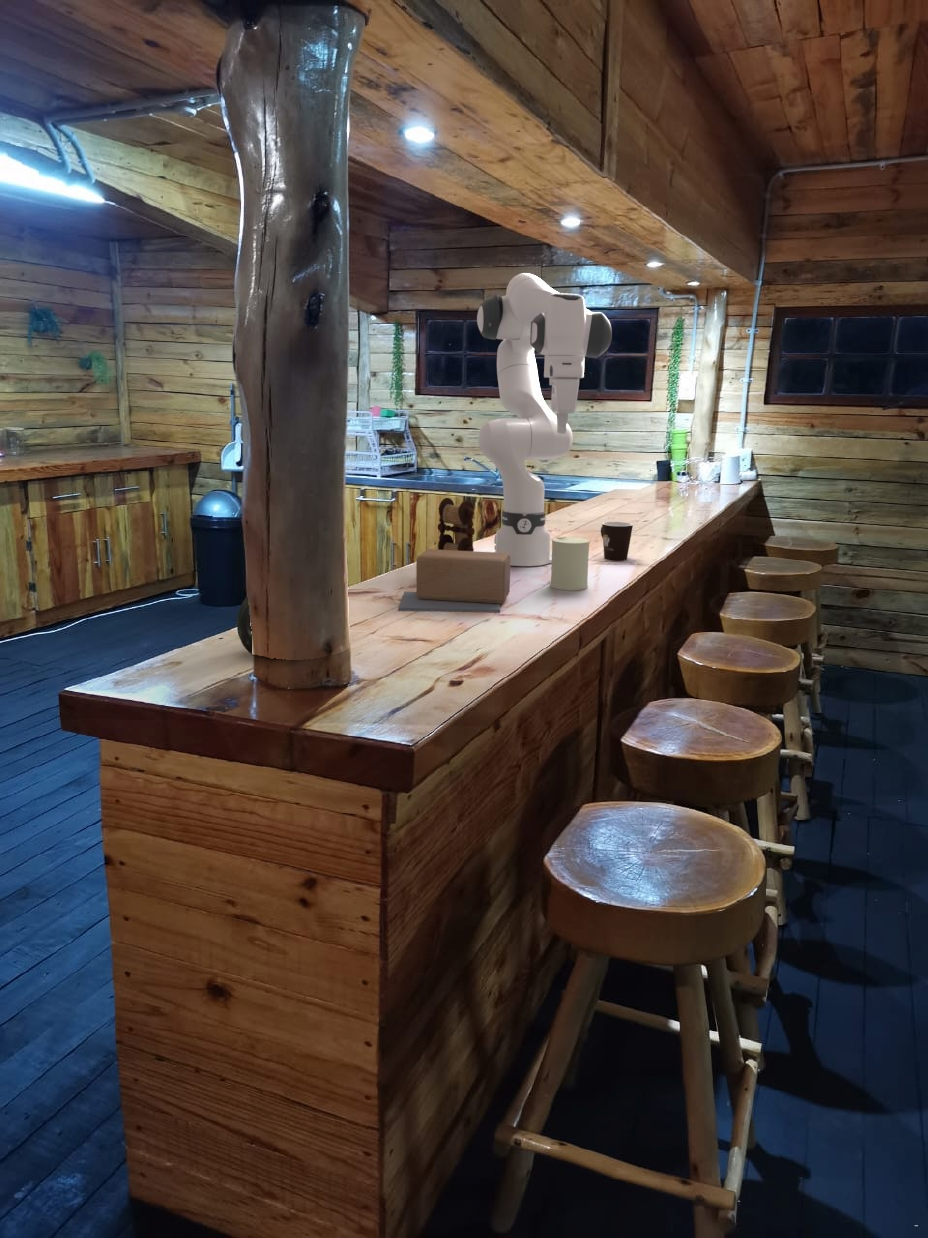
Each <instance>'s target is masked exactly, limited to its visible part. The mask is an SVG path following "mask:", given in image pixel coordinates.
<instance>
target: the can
mask: <svg viewBox="0 0 928 1238" xmlns="http://www.w3.org/2000/svg"><path fill="white" fill-rule="evenodd" d="M590 543H591V541H590V539H588V538H585V537H584V538H583V537H579V536H577V537H576V536H575V537H574V536H560V537H553V538H552V539H551V556H552V563H551V564H550V565H551V567H550V568H551V572H550V584H549V587H551V588H552V589H555V590H559V591H583V590H587V589H588V587H589V586H588V576H589V575H588V574H589V569H588V568H589V555H590V553H589V552H590Z"/></svg>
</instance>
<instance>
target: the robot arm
mask: <svg viewBox="0 0 928 1238" xmlns="http://www.w3.org/2000/svg"><path fill="white" fill-rule="evenodd" d="M505 291H506V292H505V295H502V296H501V295H498V294H497V293H495V294H494V295H493V296H492V297H490V298H487V299H485V300H484V301H482V303H480V305H479V308H478V311H477V314H476V324H477V327H478V330H479V333H480V334H481V336H482V337H483V338H484V339H489V340H496V339H497V340H502V341H501V342H500V344H499V345H498V348H497V351H496V352H497V355H496V375H497V382H498V391H499V400H500V403H501V405H502V407H503V408H504V409H505V410H506V411H508V412H510V413H511V414H513V415H515V416H516V417H518V418H516V417H515V418H514V417H510V418H509V417H507V418H505V417H504V418H503V417H501V418H497V419H491V420H488V421H485V422H484V424H483V425H482V426H481V428H480V429H479V432H478V438H477V440H478V442H477V443H478V446H479V449H480V451H481V452H482V454H483V456H485V457H486V458H487V459H488V460H490V462H491V463H492V464H493V465H494V466H495V468H496V469H497V471H498V472H499V475H500V477H501V482H502V490H503V510H502V511H501V524H502V525H501V527H500V528H499V529H498V530H497V531H496V532H495V533H496V534H495V535H494V540H493V543H494V544H495V545H494V552H496V553H507V554H509V555H510V566H512V567H513V566H514V567H515V566H516V567H536V566H544V565H547V564H552V554H551V533H550V531H549V530H548V529H547V528H546V527H545V525H546V519H547V518H546V517H547V516H546V511H545V489H546V488H545V483H544V481H543V479H542V478H541V477H539V476H537V475H536V474H534V473H532V472H530V471H528V470H527V468H526V466H525V461H539V460H541V461H550V460H556V459H560V458H564V457H565V456H567V455H568V453H569V452H570V451H571V449H572V446H573V442H574V435H573V430H572V428H571V427H570V425H569V424H568V418H569V414H570V415H572V414H575V411H576V406H577V402H578V394H579V386H580V379H583V378H585V374H584V373H585V360H586V359H585V357H586V358H594V359H597V358H600V357H601V355H603V354H604V353H605V352H606V351H607V350H608V349H609V347H610V346H611V343H612V337H613V329H612V324H611V322H610V320H609V319H608V318H607V316H606V315H605V313H603V312H601V311H598V312H597V311H596V312H595V311H591V310H590V309H587V308H586V303H585V298H584V296H582V295H580V294H577V293H570V292H559V291H557V290H555V289H553V288H552V287H550V285H548V284H547V283H546V282H545V281H544V280H542V279H541V277H538V276H537V275H534V274H532V273H529V272H528V273H527V272H526V273H525V272H523V273H519V274H517V275H515V276H513V277H512V278H511V279H510V280H509V283H508V285H507V287H506V290H505ZM535 352H536V353H538V355H543V356H544V364H543V365H544V366H543V369H544V371H543V377H544V378H549V380H548V381H549V386H551V399H550V400H551V403H550V407H549V406H548V404H547V403H546V401H545V400H544V397H543V395H542V394H543V393H542V390H541V385H540V381H539V373H538V366H537V362H536V357H535ZM554 412H555V413H556V414H555V413H554Z"/></svg>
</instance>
